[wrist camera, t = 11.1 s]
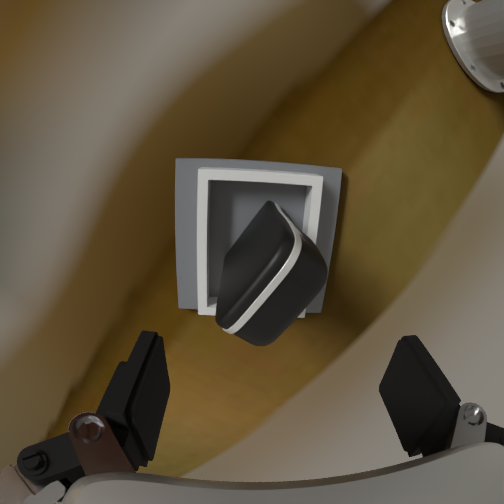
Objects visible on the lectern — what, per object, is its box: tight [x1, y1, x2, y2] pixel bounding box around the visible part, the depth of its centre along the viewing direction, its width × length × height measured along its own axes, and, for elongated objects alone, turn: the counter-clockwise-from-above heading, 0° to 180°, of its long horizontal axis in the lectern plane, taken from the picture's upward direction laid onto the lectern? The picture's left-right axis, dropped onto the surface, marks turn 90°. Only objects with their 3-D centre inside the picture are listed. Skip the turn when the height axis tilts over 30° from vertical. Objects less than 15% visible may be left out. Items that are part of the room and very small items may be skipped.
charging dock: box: [175, 158, 342, 318], centre depth 25 cm, size 14×14×3 cm
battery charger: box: [215, 200, 328, 346], centre depth 20 cm, size 7×4×11 cm, turn 143°
